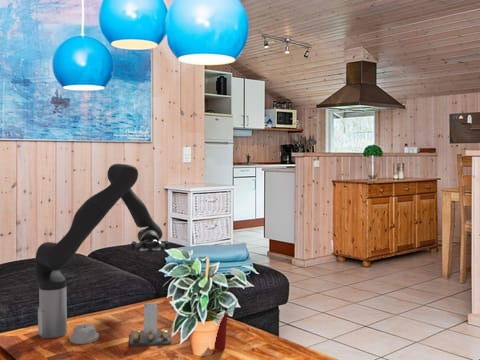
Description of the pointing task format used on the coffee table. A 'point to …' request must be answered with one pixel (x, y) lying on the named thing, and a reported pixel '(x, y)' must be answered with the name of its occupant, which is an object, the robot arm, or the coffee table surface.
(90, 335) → the mechanical component
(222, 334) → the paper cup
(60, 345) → the coffee table surface
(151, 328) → the block
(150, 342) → the pin plate
